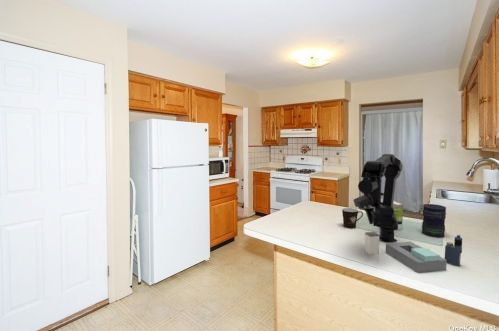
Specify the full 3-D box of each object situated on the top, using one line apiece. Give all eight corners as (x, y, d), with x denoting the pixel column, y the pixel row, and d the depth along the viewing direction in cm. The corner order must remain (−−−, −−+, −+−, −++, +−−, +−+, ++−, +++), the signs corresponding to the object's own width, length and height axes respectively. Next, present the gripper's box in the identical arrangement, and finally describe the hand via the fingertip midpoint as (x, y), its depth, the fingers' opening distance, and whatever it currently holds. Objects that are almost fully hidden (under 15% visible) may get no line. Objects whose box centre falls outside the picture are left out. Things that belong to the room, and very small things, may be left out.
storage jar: (449, 238, 126) (450, 209, 125) (427, 237, 128) (428, 208, 127) (438, 231, 136) (439, 204, 134) (418, 230, 138) (419, 203, 136)
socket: (385, 252, 112) (385, 243, 112) (409, 250, 114) (410, 241, 113) (417, 272, 94) (418, 262, 94) (446, 270, 96) (446, 260, 95)
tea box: (402, 230, 138) (403, 204, 137) (384, 230, 138) (385, 204, 137) (388, 221, 153) (389, 197, 152) (371, 221, 153) (372, 198, 152)
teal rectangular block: (410, 253, 101) (411, 248, 101) (424, 252, 102) (424, 247, 102) (425, 261, 94) (425, 256, 94) (439, 260, 95) (439, 255, 95)
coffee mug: (342, 228, 143) (342, 211, 142) (341, 223, 151) (341, 207, 150) (364, 230, 139) (364, 212, 138) (362, 225, 148) (362, 208, 147)
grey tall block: (364, 251, 114) (365, 232, 113) (373, 250, 114) (374, 231, 113) (369, 254, 110) (370, 235, 109) (378, 253, 111) (379, 234, 110)
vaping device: (459, 267, 98) (461, 237, 97) (443, 262, 102) (445, 233, 101) (461, 265, 99) (463, 235, 98) (445, 260, 104) (447, 231, 102)
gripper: (345, 187, 117) (344, 219, 119) (370, 195, 99) (368, 233, 100) (367, 186, 119) (366, 218, 120) (395, 194, 101) (394, 231, 102)
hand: (372, 225), depth 111 cm, fingers closed
